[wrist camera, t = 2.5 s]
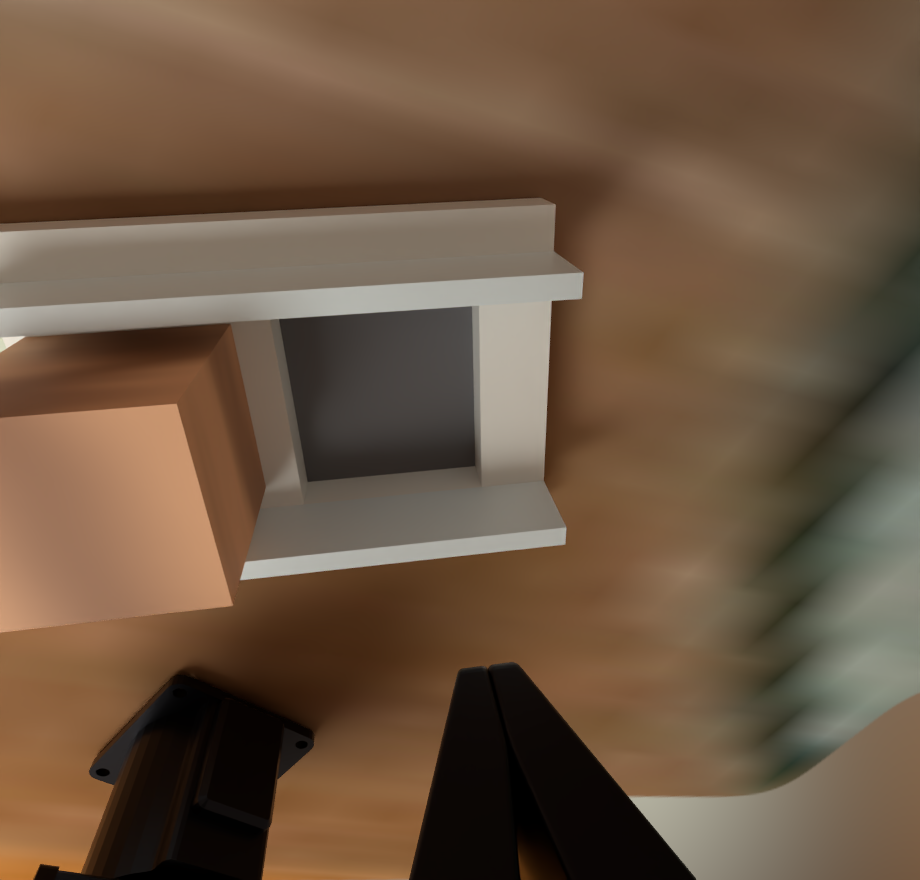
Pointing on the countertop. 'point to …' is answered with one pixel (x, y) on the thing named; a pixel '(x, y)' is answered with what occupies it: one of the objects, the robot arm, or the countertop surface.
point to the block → (124, 475)
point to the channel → (343, 359)
